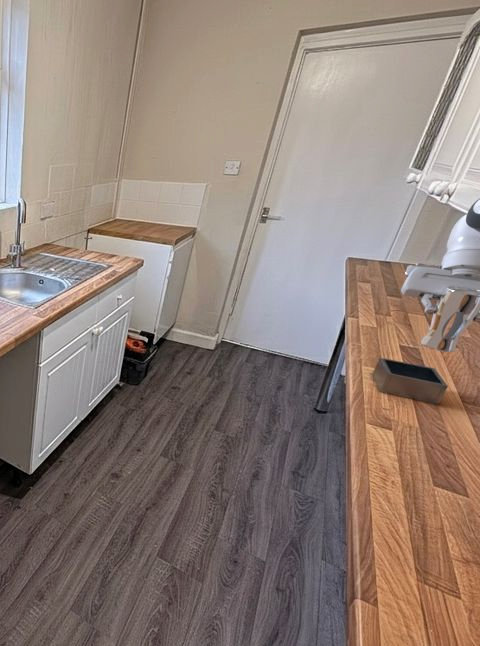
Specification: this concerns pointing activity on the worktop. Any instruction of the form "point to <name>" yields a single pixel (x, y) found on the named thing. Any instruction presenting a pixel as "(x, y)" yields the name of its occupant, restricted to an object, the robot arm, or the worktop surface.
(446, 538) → the worktop surface
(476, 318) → the robot arm
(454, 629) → the worktop surface
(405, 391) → the dark gray square tray
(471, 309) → the metal tumbler
